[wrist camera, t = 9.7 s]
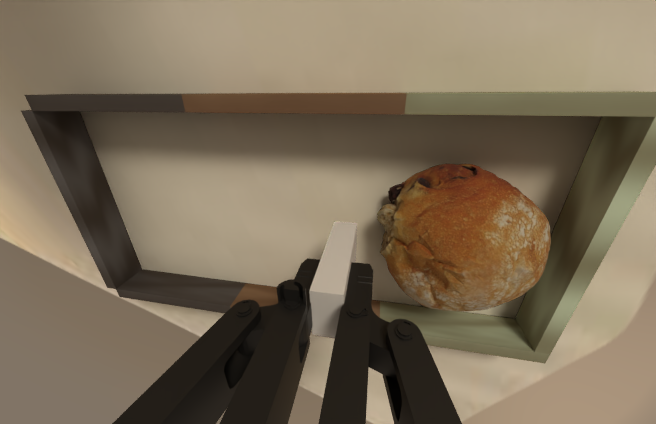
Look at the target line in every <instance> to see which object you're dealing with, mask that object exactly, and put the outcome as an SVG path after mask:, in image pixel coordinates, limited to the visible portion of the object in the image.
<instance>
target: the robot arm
mask: <svg viewBox="0 0 656 424" xmlns="http://www.w3.org/2000/svg"><path fill="white" fill-rule="evenodd" d="M356 244H357V223H354V222H339V221H334V224H333V226H332V229H331V232H330V235H329V238H328V240H327V243H326V246H325V249H324V251H323V254H322V257H321V260H316V259H306V260H305V261H304V262H303V263H302V264H301V266H300V268H299V271H298V272H297V274H296V277H295V279H294V280H287V281H284V282H282V283H281V284H279V285H278V287H277V288H276V289H277V296H278V303H277V304H274V305H269V306H262V307H260V306H259V304H258V302H256V301H254V300H250V299H248V300H242V301H240V302H238V303H236V304H235V305H233V306H232V307H231V308H230V309H229V310H228V311H227V312H226V313H225V314H224V315H223V316H222V317H221V318H220V319H219V320H218V321H217V322H216V323H215V324H214V325H213V326H212V327H211V328H210V329H209V330H208V331H207V332H206V333H205V334H204V335H203V336H202V337H201V338H200V339H199V340H198V341H196V343H194V344H193V345H192V346H191V347H190V348H189V349H188V350H187V351H186V352H185V353H184V354H183V355H182V356H181V357H180V358H179V359H178V360H177V361H176V362H175V363H174V364H173V365H172V366H171V367H170V368H169V369H168V370H167V371H166V372H165V373H164V374H163V375H162V376H161V377H160V378H159V379H158V380H157V381H156V382H155V383H154V384H153V385H151V387H149V388H148V390H146V392H144V394H142V395H141V396H140V397H139V398H138V399H137V400H136V401H135V402H134V403H133V404H132V405H131V406H130V407H129V408H128V409H127V410H126V411H125V412H124V413H123V414H122V415H121V416H120V417H119V418H118V419H117V420H116V421H115V422H114V423H113V424H216V422H217V421H218V419H219V418H220V417H221V415H222V414H223V413H224V411H225V410H226V412H225V413H224V416H223V418H222V420H221V422H220V424H288V420H289V417H290V413H291V410H292V406H293V403H294V399H295V396H296V392H297V388H298V385H299V381H300V378H301V374H302V371H303V367H304V363H305V360H306V356H307V353H308V349H309V345H310V338H309V336H310V333H311V329H312V335H317V336H323V337H330V338H335V341H334V346H333V351H332V357H331V362H330V367H329V372H328V378H327V383H326V388H325V393H324V398H323V404H322V409H321V414H320V419H319V424H365V423H366V404H367V384H368V367H370V368H372V369H374V370H376V371H378V372H380V373H382V374H383V378H384V383H385V387H386V391H387V395H388V399H389V403H390V407H391V412H392V416H393V420H394V424H462V423H461V421H460V418H459V416H458V414H457V412H456V409H455V407H454V405H453V403H452V400H451V398H450V396H449V394H448V391H447V389H446V387H445V385H444V382H443V380H442V378H441V376H440V373H439V371H438V369H437V367H436V364H435V362H434V360H433V357H432V355H431V353H430V351H429V348H428V346H427V344H426V342H425V339H424V337H423V335H422V333H421V331H420V329H419V328H418V326H417V325H415V324H414V323H413V322H411V321H409V320H406V319H395V320H393V321H391V322H388V321H385V320H383V319H381V318H379V317H378V316H377V315H376V314H375V313H374V312H373V309H372V305H371V302H372V282H373V269H372V268H371V266H370V264H364V263H355V261H356ZM226 408H227V409H226Z"/></svg>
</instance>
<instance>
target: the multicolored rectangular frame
mask: <svg viewBox="0 0 656 424" xmlns="http://www.w3.org/2000/svg"><path fill="white" fill-rule="evenodd" d="M25 97H26V99H27V101H28V103H29V105H30V107H31V109H32V110H26V111H21V112H22V114H23V116H24V118H25V120H26V122H27V124H28V126H29V128H30V130H31V132H32V134H33V136H34V138H35V140H36V142H37V145H38V147H39V149H40V151H41V153H42V155H43V157H44V159H45V161H46V163H47V165H48V167H49V169H50V171H51V173H52V175H53V177H54V179H55V181H56V183H57V185H58V187H59V190H60V192H61V194H62V196H63V198H64V200H65V202H66V204H67V206H68V208H69V210H70V212H71V214H72V216H73V218H74V220H75V222H76V224H77V226H78V228H79V230H80V233H81V235H82V237H83V239H84V241H85V243H86V245H87V247H88V249H89V251H90V253H91V255H92V257H93V259H94V261H95V263H96V265H97V267H98V269H99V271H100V273H101V275H102V278H103V280H104V282H105V284H106V286H107V288H113V289H116V290H117V292H118V294H119V296H120V297H124V298H131V299H137V300H144V301H150V302H156V303H163V304H169V305H176V306H182V307H188V308H195V309H201V310H207V311H214V312H220V313H226V312H227V311H228V310H229V309H230V308H231V307H232V306H233V305H235V304H236V303H238V302H240V301H242V300H248V299H250V300H254V301H256V302H258V304H259V306H260V307H262V306H269V305H274V304H277V303H278V296H277V289H276V288H277V287H270V286H263V285H255V284H248V283H240V282H233V281H225V280H218V279H210V278H202V277H195V276H187V275H180V274H172V273H165V272H157V271H150V270H142V268H141V266H140V263H139V261H138V258H137V256H136V253H135V251H134V248H133V246H132V243H131V241H130V238H129V236H128V233H127V231H126V228H125V226H124V223H123V221H122V218H121V216H120V213H119V210H118V208H117V205H116V203H115V200H114V198H113V195H112V193H111V190H110V188H109V185H108V183H107V180H106V178H105V175H104V173H103V170H102V168H101V165H100V163H99V160H98V158H97V155H96V153H95V150H94V148H93V145H92V143H91V140H90V138H89V135H88V133H87V130H86V127H85V125H84V122H83V120H82V117H81V115H80V112H79V111H99V112H207V113H314V114H422V115H529V116H602V118H601V120H600V123H599V125H598V127H597V130H596V132H595V134H594V137H593V139H592V141H591V144H590V146H589V148H588V151H587V153H586V155H585V158H584V160H583V162H582V165H581V167H580V169H579V172H578V174H577V176H576V179H575V181H574V183H573V186H572V188H571V190H570V193H569V195H568V197H567V200H566V202H565V204H564V207H563V209H562V211H561V214H560V216H559V218H558V221H557V223H556V225H555V228H554V230H553V232H552V235H551V245H550V250H549V253H548V259H547V262H546V265H545V269H544V271H543V274H542V276H541V277H540V279H539V281H538V282H537V283H536V284H535V285H534V286H533V287H532V288H530V289H529V290H528V291H527V293H526V295H525V297H524V300H523V302H522V304H521V307H520V309H519V311H518V314H517V316H516V318H515V319H512V318H504V317H497V316H489V315H482V314H474V313H467V312H459V311H447V310H438V309H431V308H428V307H421V306H414V305H406V304H399V303H391V302H384V301H376V300H372V302H371V305H372V309H373V312H374V313H375V314H376V315H377V316H378V317H379V318H381V319H383V320H385V321H388V322H391V321H393V320H395V319H406V320H409V321H411V322H413V323H414V324H415V325H417V326H418V328H419V329H420V331H421V333H422V335H423V337H424V339H425V342H426V344H427V345H431V346H438V347H444V348H450V349H457V350H463V351H470V352H476V353H482V354H489V355H495V356H501V357H508V358H514V359H521V360H527V361H533V362H540V363H546V361H547V359H548V357H549V355H550V354H551V352H552V350H553V348H554V346H555V345H556V343H557V341H558V339H559V337H560V336H561V334H562V332H563V330H564V328H565V327H566V325H567V323H568V321H569V319H570V318H571V316H572V314H573V312H574V311H575V309H576V307H577V305H578V303H579V302H580V300H581V298H582V296H583V294H584V293H585V291H586V289H587V287H588V285H589V284H590V282H591V280H592V278H593V276H594V275H595V273H596V271H597V269H598V267H599V266H600V264H601V262H602V260H603V258H604V257H605V255H606V253H607V251H608V249H609V248H610V246H611V244H612V242H613V241H614V239H615V237H616V235H617V233H618V232H619V230H620V228H621V226H622V224H623V223H624V221H625V219H626V217H627V215H628V214H629V212H630V210H631V208H632V206H633V205H634V203H635V201H636V199H637V197H638V196H639V194H640V192H641V190H642V188H643V187H644V185H645V183H646V181H647V179H648V178H649V176H650V174H651V172H652V171H653V169H654V167H655V165H656V92H460V93H246V94H60V95H25Z"/></svg>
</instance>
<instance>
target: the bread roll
mask: <svg viewBox="0 0 656 424" xmlns="http://www.w3.org/2000/svg"><path fill="white" fill-rule="evenodd" d="M388 193H389V199H390V202H391V203H390V204H386V205H384V206H383V207H382V209H380V210H379V212H378V213H377V215H378V217H377V218H378V221H379V222H380V223H381V224H382V225H383V226H384V229H385V233H384V235H383V243H382V248H381V251H380V253H381V255H383V256H384V257H385V259H386V262H387V265H388V270H389V272H390V273H391V275H392V276H393V278H394V279H395V281H396V282H397V284H398V285H399V286H400V288H401V289H402V290H403V291H404V292H405V293H406V294H407V295H408V296H410V297H411V298H412V299H414V300H415V301H417V302H418V303H419V304H421V305H423V306H425V307H428V308H431V309H438V310H447V311H475V310H484V309H489V308H491V307H495V306H498V305H500V304H503V303H505V302H509V301H511V300H513V299H515V298H518V297H520V296H522V295H523V294H524V293H526V292H527V291H528V290H529V289H530V288H532V287H533V286H534V285H535V284H536V283H537V282H538V281H539V279H540V277H541V276H542V274H543V271H544V269H545V265H546V262H547V259H548V253H549V250H550V245H551V236H550V225H549V222H548V220H547V218H546V216H545V214H543V212H542V211H541V210H540V209H539V208H538V207H537V206H536V205H535V204H534V203H533V202H532V201H531V200H530V199H528V198H527V197H526V196H524V195H523V194H522V193H521V192H520V191H519V190H518V189H517V188H515V187H513V186H512V185H511V184H509V183H508V182H507V181H505V180H503V179H501V178H498V177H497V176H496V175H495V174H493V173H491V172H489V171H486V170H483V169H481V168H480V167H479V166H475V165H472V164H459V165H456V164H441V165H437V166H434V167H431V168H429V169H427V170H424V171H422V172H419V173H416V174H415V175H413V176H412V177H410V178H409V179H407V180H406V181H405V182H403V183H402V184H399V185H395V186H393V187H391V188H390V190H389V191H388ZM397 238H398V239H397Z"/></svg>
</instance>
